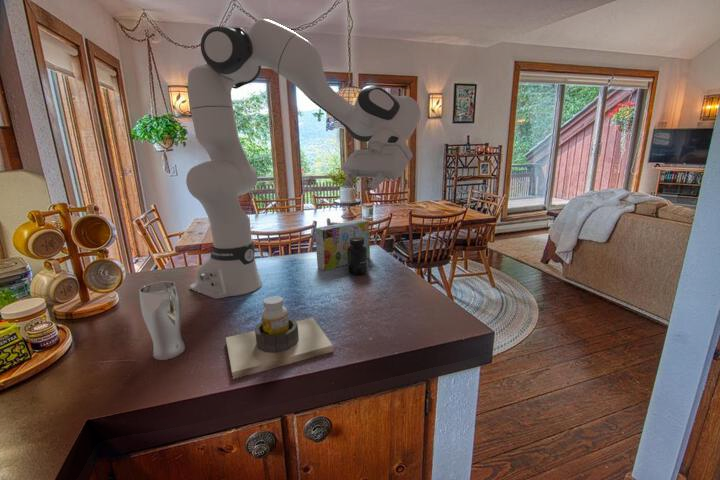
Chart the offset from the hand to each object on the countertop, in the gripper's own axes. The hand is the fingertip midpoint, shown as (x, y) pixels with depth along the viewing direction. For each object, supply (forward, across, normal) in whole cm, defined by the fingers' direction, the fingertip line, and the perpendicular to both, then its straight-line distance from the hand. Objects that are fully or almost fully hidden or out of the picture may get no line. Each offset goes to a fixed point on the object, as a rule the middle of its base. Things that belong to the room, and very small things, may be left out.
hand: (357, 187), depth 90 cm
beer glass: (+56, -9, -11) cm, 58 cm away
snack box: (+10, -29, +34) cm, 46 cm away
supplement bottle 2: (+13, -17, +32) cm, 38 cm away
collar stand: (+43, +6, +1) cm, 44 cm away
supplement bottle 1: (+42, +6, 0) cm, 43 cm away
